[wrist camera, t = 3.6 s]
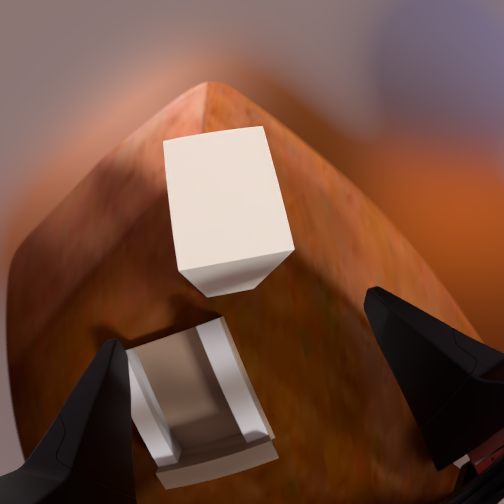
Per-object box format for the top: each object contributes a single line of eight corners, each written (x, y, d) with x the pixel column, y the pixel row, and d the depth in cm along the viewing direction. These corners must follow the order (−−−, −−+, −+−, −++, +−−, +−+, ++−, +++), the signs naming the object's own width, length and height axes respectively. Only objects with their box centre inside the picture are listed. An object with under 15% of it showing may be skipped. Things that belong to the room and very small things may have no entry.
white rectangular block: (253, 288, 21) (294, 249, 9) (207, 297, 21) (178, 270, 8) (241, 231, 22) (262, 126, 9) (197, 238, 22) (163, 140, 9)
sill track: (273, 433, 19) (283, 456, 15) (171, 465, 18) (162, 490, 14) (223, 316, 21) (222, 316, 17) (117, 352, 19) (96, 359, 15)
